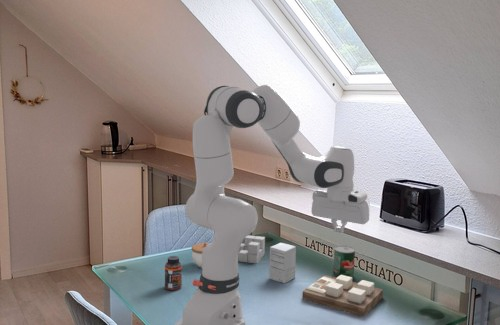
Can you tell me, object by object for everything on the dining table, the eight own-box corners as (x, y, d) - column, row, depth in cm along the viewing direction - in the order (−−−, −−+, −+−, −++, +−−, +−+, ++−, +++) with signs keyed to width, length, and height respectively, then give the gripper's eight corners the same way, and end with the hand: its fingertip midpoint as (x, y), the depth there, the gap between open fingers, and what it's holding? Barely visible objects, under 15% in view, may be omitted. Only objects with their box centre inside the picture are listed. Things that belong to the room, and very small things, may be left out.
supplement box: (279, 273, 191) (280, 242, 189) (295, 278, 186) (296, 246, 184) (268, 278, 185) (269, 246, 183) (284, 283, 181) (285, 251, 179)
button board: (363, 317, 156) (364, 307, 155) (302, 299, 168) (302, 290, 167) (382, 297, 170) (383, 288, 170) (324, 282, 182) (325, 274, 182)
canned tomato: (349, 281, 184) (350, 253, 182) (329, 277, 188) (331, 249, 186) (356, 275, 190) (358, 248, 189) (337, 270, 194) (338, 244, 193)
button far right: (369, 296, 165) (369, 287, 165) (356, 292, 168) (357, 283, 167) (373, 291, 169) (374, 282, 168) (361, 288, 171) (362, 279, 171)
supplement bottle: (173, 292, 171) (172, 261, 169) (161, 288, 175) (161, 257, 173) (185, 287, 176) (185, 257, 174) (173, 283, 179) (173, 253, 178)
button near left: (337, 298, 163) (338, 289, 163) (325, 294, 166) (325, 285, 165) (342, 293, 167) (343, 284, 166) (331, 290, 169) (331, 281, 169)
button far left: (347, 290, 170) (347, 281, 169) (335, 287, 172) (335, 278, 172) (351, 286, 173) (352, 277, 173) (340, 283, 176) (340, 274, 175)
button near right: (360, 304, 159) (360, 295, 158) (347, 300, 161) (348, 291, 161) (365, 299, 162) (365, 290, 162) (352, 296, 165) (353, 287, 164)
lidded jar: (206, 258, 205) (206, 237, 204) (223, 265, 198) (223, 243, 196) (186, 265, 198) (186, 242, 196) (203, 272, 190) (203, 249, 189)
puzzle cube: (238, 251, 216) (238, 233, 214) (264, 254, 212) (265, 236, 211) (229, 260, 204) (229, 242, 203) (256, 264, 201) (257, 245, 200)
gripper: (308, 191, 171) (308, 229, 173) (365, 199, 159) (363, 239, 162) (316, 187, 176) (315, 224, 178) (371, 195, 165) (370, 234, 167)
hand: (338, 231), depth 170 cm, fingers closed
